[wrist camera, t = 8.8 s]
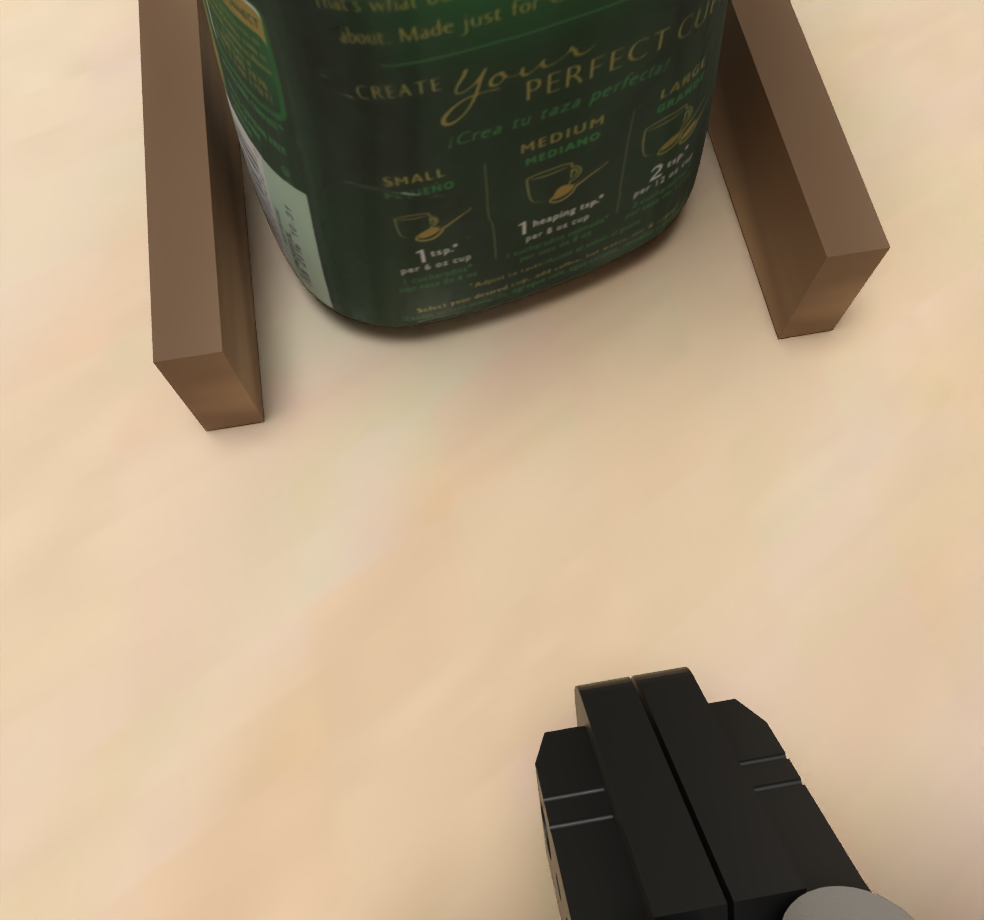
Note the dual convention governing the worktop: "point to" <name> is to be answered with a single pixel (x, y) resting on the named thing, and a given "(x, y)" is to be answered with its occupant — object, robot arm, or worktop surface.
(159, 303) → the wooden u-shaped frame
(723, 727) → the robot arm
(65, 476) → the worktop surface
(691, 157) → the coffee jar
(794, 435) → the worktop surface
